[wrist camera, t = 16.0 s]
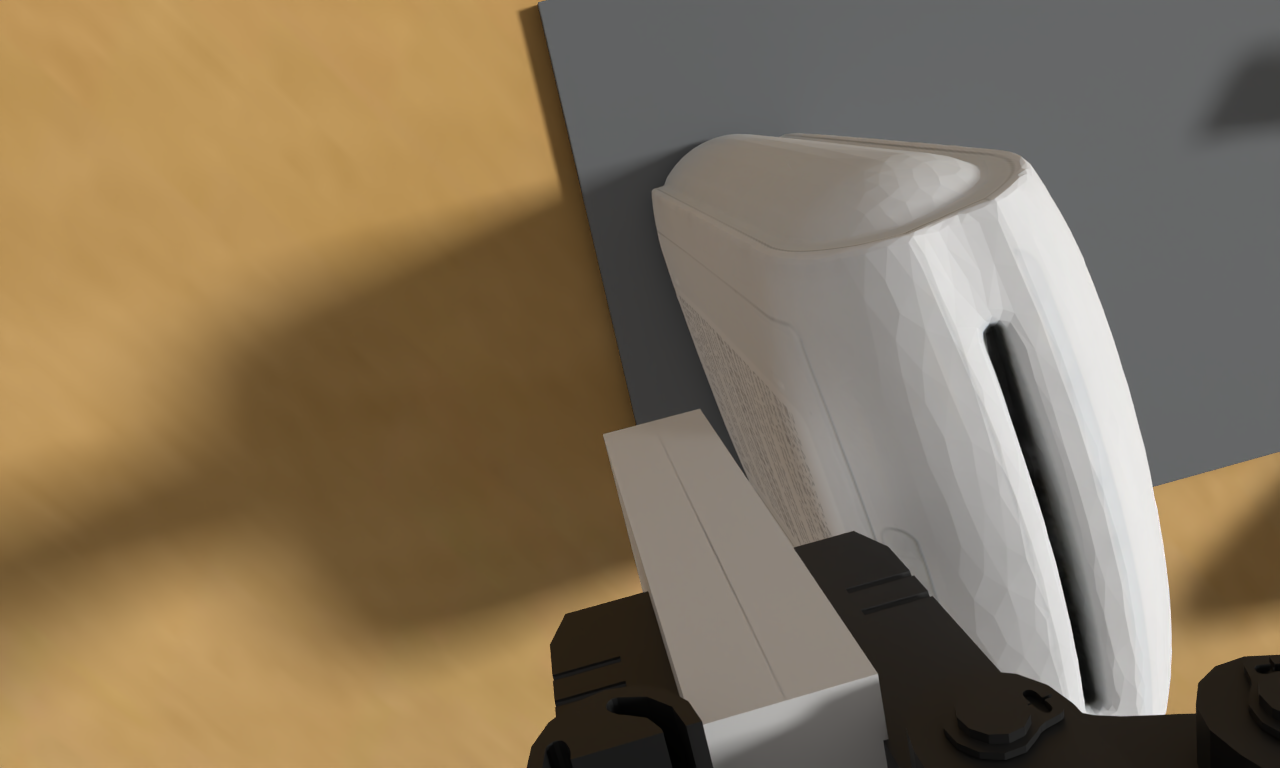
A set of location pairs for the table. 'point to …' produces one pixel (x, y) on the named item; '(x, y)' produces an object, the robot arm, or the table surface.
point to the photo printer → (931, 390)
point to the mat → (978, 118)
